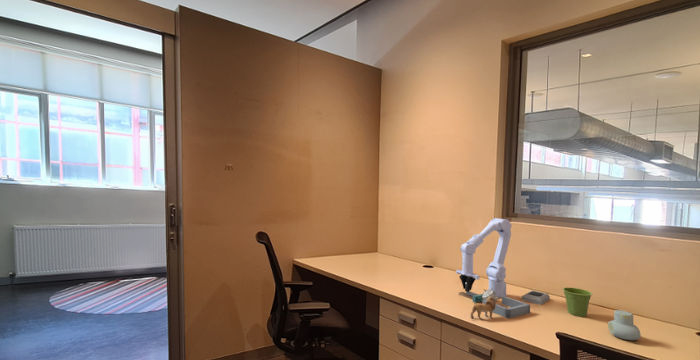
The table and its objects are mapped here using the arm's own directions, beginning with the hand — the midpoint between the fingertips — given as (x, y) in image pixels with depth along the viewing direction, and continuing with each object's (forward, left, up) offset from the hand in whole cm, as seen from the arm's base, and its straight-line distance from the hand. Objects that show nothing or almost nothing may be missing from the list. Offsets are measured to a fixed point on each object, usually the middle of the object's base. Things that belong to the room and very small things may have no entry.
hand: (467, 289), depth 174 cm
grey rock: (0, +15, -4) cm, 15 cm away
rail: (0, +1, -4) cm, 4 cm away
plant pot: (-29, +42, -4) cm, 51 cm away
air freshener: (-18, +64, -4) cm, 66 cm away
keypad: (-32, +20, -5) cm, 38 cm away
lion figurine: (+18, +25, -4) cm, 31 cm away
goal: (0, +24, -4) cm, 24 cm away
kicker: (0, +5, -4) cm, 6 cm away
